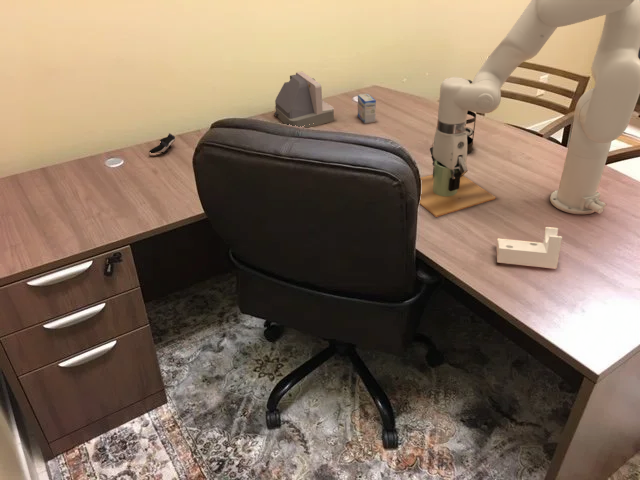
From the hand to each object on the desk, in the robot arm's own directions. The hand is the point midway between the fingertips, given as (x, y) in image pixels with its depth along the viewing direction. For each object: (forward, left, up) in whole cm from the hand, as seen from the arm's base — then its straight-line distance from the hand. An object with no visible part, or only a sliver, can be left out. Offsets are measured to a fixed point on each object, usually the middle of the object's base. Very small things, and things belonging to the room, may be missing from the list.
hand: (445, 183), depth 153 cm
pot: (0, 0, -2) cm, 2 cm away
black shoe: (+72, +67, -3) cm, 98 cm away
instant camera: (+74, +13, -3) cm, 75 cm away
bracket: (-35, +2, -3) cm, 35 cm away
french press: (+22, -21, -3) cm, 31 cm away
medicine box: (+60, -7, -3) cm, 61 cm away
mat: (0, 0, -3) cm, 3 cm away
